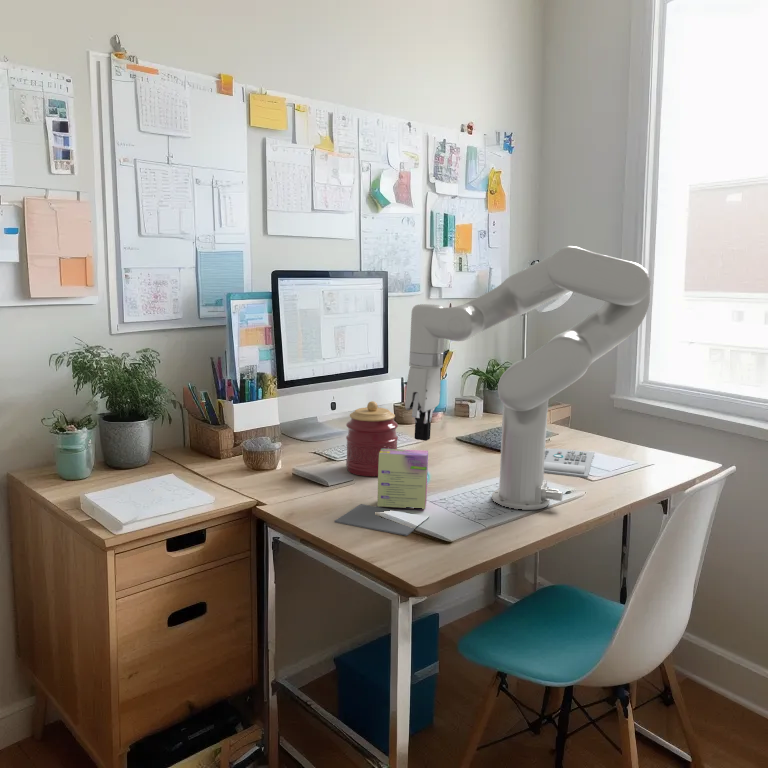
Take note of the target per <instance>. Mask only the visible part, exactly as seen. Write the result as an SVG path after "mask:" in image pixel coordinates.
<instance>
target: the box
mask: <svg viewBox="0 0 768 768" xmlns="http://www.w3.org/2000/svg"><path fill="white" fill-rule="evenodd" d="M428 466H429V450H424V449H423V450H421V449H420V450H419V449H403V448H402V449H399V448H397V449H384V448H382V449H381V451H380V452H379V464H378V476H377V503H376V505H377V506H376V507H381V508H401V509H402V508H403V509H407V508H406V507H414V508H422V509H421V510H426V508H427V507H426V506H427V496H428V495H427V493H428V492H427V491H428V470H429V469H428ZM414 508H413V509H414Z"/></svg>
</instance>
